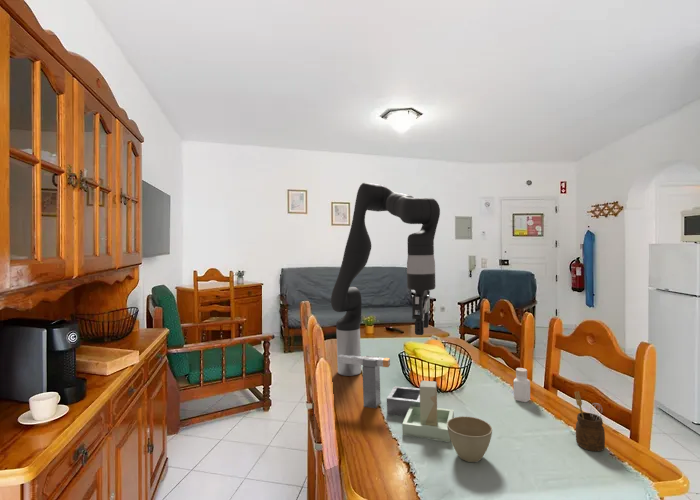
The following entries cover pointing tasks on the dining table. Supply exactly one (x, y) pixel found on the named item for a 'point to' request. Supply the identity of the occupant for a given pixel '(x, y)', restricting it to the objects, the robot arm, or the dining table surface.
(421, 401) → the box
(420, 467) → the dining table surface
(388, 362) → the bar
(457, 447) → the flower pot
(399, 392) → the collar
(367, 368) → the post
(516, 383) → the white pill bottle
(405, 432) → the tray
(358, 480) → the dining table surface
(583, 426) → the utensil holder
